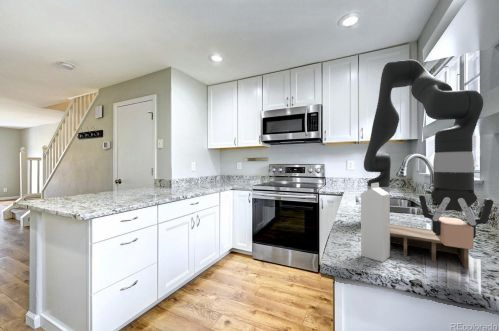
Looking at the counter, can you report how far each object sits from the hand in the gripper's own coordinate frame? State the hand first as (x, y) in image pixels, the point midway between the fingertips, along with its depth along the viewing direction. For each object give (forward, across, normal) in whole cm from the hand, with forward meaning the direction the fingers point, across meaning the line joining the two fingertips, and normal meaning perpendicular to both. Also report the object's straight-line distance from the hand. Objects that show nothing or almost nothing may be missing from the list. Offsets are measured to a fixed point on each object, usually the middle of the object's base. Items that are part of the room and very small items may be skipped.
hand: (452, 236), depth 55 cm
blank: (+1, 0, 0) cm, 1 cm away
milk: (+9, +17, 0) cm, 19 cm away
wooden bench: (+9, +6, -11) cm, 16 cm away
